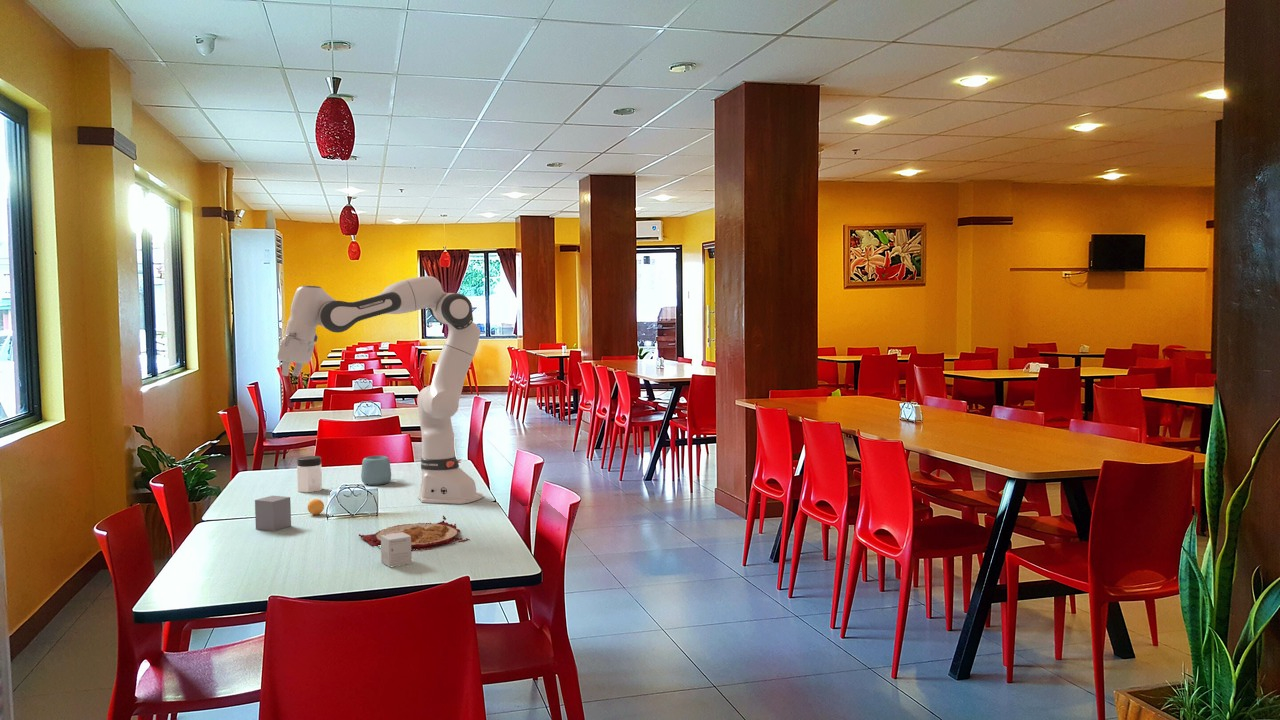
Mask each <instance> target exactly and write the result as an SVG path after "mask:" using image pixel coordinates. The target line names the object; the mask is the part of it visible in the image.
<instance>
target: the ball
mask: <svg viewBox="0 0 1280 720" xmlns="http://www.w3.org/2000/svg"><path fill="white" fill-rule="evenodd" d="M324 509H325V504H324V502H323V501H322V500H321V499H318V498H314V499H311V500H310V501H309V502H308V503H307V511H308V513H309V514H311V515H314V516H316V515H319V514H321V513H323V511H324Z"/></svg>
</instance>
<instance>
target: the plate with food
mask: <svg viewBox="0 0 1280 720" xmlns="http://www.w3.org/2000/svg"><path fill="white" fill-rule="evenodd" d="M442 519H443V520H441V521H439V522H437V523H431V522H422V523H421V522H418V523H407V524H406V523H405V524H397V525H394V526H389V527H387V528H384V529H381V530H378V531H376V533H372V534H360V533H358V537H360V539H363V541H365V540H366V543H368V545H370V546H372V547H373V546H376V547H378V545H381V535H387V534H392V533H400V532H403V533H406V534H408V535H410V536H411V550H413V549H415V550H416V549H418V550H416V551H422V549H423V550H424V551H428V550H429V551H430V550H431V549H432V548H436V547H441V546H445V545H449V544H451V545H452V543H453V542H456V541H457V543H463V542H464V541H471V539H470V538H467V537H465V539H466V540H465V539H464V538H463V537H457V536H459V534H460V533H461V530H460V529H458V528H457V524H456V523H454V524H452V523H451V524H450V523H449V522H445V521H446V520H447V518H446V516H445V515H442ZM431 547H432V548H431ZM415 550H414V551H413V552H416V551H415Z"/></svg>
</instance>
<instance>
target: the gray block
mask: <svg viewBox="0 0 1280 720" xmlns="http://www.w3.org/2000/svg"><path fill="white" fill-rule="evenodd" d="M291 505H292V503H291V496H290V497H289V496H283V495H282V496H281V495H270V496H266V497H261V498H258V499H255V500H254V515H255V518H254V519H255V530H261V531H269V532H275V531H279V530H282V529H285V528H288V527H291V526H292V512H291V509H292V507H291Z"/></svg>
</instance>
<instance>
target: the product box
mask: <svg viewBox="0 0 1280 720" xmlns="http://www.w3.org/2000/svg"><path fill="white" fill-rule="evenodd" d="M411 550H412V549H411V536H410V535H408V534H406V533H403V532H400V533H392V534H387V535H381V548H380V551H381V552H380V563H382V564H383V563H384V564H383V565H385V566H386V565H387V566H386V567H388V566H389V567H388V568H390V567H391V566H396V567H400V566H399V565H402V566H405V564H408V565H411V564H412V563H413V562H412V559H413V557H412V555H413V553H412V551H411ZM391 568H392V567H391Z"/></svg>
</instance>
